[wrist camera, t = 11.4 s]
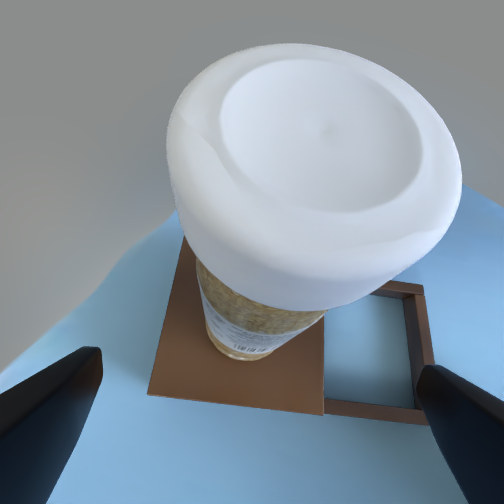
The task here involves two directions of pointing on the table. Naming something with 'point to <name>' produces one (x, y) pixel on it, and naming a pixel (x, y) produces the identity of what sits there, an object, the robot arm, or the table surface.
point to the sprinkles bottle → (303, 187)
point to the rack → (270, 358)
